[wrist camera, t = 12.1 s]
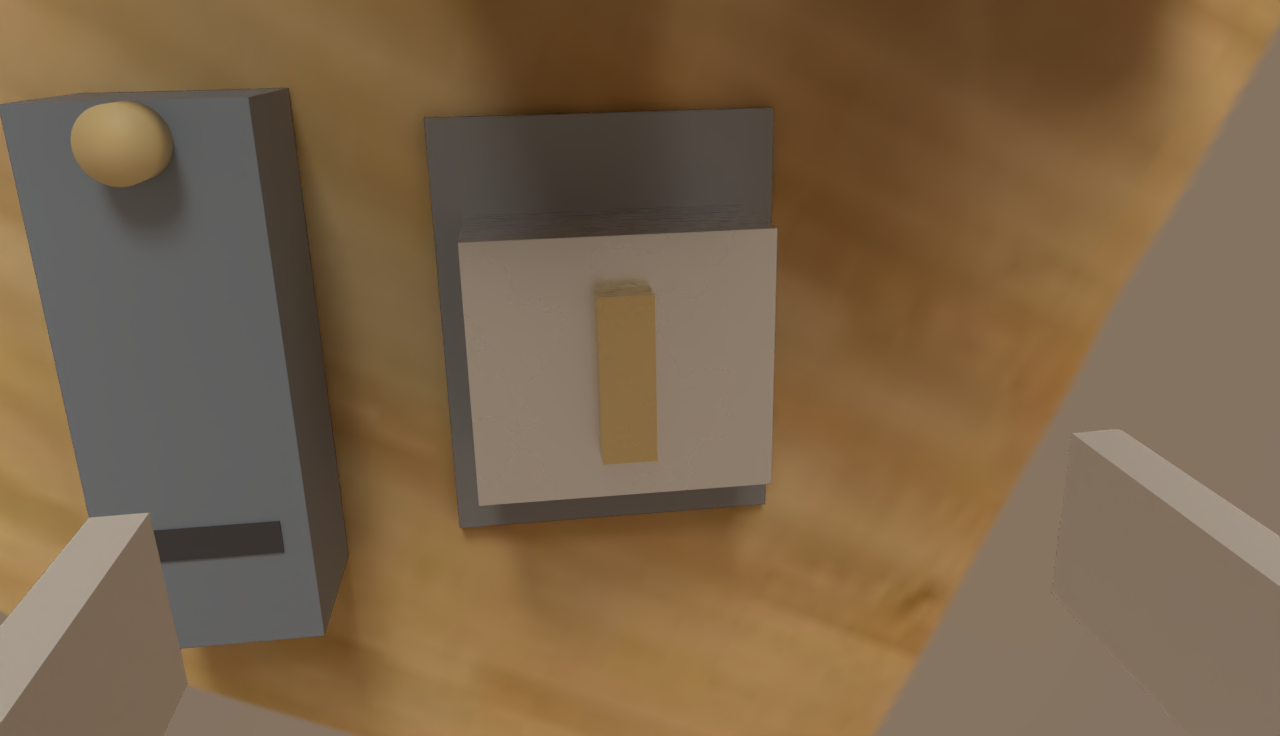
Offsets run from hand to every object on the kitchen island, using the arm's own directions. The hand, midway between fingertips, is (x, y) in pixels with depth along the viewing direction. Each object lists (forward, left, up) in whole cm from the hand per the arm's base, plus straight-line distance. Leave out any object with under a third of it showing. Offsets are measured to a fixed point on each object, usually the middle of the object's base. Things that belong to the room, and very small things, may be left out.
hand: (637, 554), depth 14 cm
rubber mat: (+2, +2, -20) cm, 20 cm away
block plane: (+2, -11, -20) cm, 23 cm away
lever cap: (+2, +1, -19) cm, 19 cm away
